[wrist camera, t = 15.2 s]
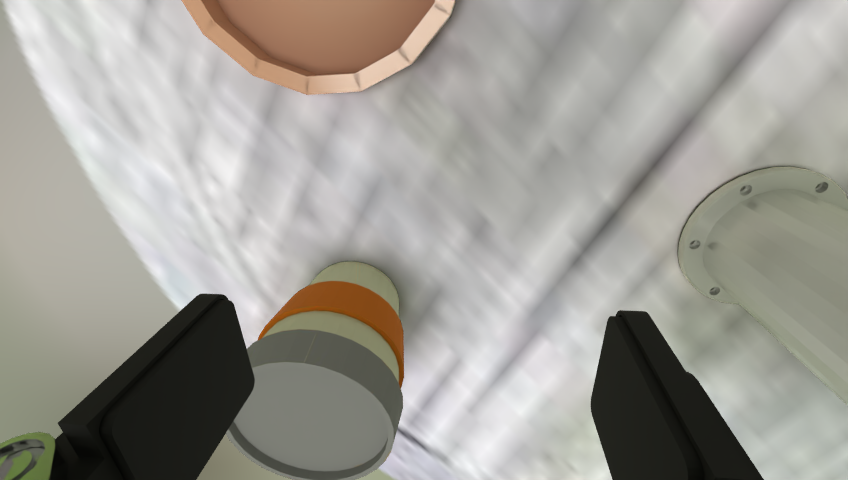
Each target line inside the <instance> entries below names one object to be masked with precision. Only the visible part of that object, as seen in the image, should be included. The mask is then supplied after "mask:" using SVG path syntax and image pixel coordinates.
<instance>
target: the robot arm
mask: <svg viewBox="0 0 848 480" xmlns="http://www.w3.org/2000/svg"><path fill="white" fill-rule="evenodd" d="M678 258H679V264H680V268H681V270H682V272H683V274H684V276H685V277H686V279H687V280H688V281H689V282H690V283H691V285H693V286H694V287H695V288H696V289H697V290H698V291H699V292H700V293H701V294H703V295H705V296H706V297H708V298H710V299H713V300H716V301H719V302H723V303H730V304H740V305H741V306H742V307H743V308H744V309H745V310H746V311H747V312H748V313H749V314H751V315H752V316H753V317H754V318H755V319H756V320H757V321H758V322H759V323H760V324H761V325H762V326H763V327H764V328H765V329H766V330H768V331H769V332H770V333H771V334H772V335H773V336H774V337H775V338H776V339H777V340H778V341H779V342H780V343H781V344H782V345H784V346H785V347H786V348H787V349H788V350H789V351H790V352H791V353H792V354H793V355H794V356H795V357H796V358H797V359H798V360H799V361H801V362H802V363H803V364H804V365H805V366H806V367H807V368H808V369H809V370H810V371H811V372H812V373H813V374H814V375H815V376H817V377H818V378H819V379H820V380H821V381H822V382H823V383H824V384H825V385H826V386H827V387H828V388H829V389H830V390H831V391H832V392H834V393H835V394H836V395H837V396H838V397H839V398H840V399H841V400H842V401H843V402H844V403H845V404H846V405H847V406H848V198H847V196H846V195H845V193H844V191H843V190H842V188H841V187H839V186H838V185H837V184H836V183H835V182H834V181H833V180H831V179H829V178H827V177H825V176H823V175H821V174H819V173H816V172H813V171H810V170H807V169H804V168H797V167H772V168H767V169H762V170H757V171H754V172H751V173H749V174H746V175H743V176H740V177H738V178H736V179H735V180H733V181H731V182H729V183H727V184H725V185H724V186H722V187H721V188H719V189H718V190H717V191H715V192H714V193H712V194H711V195H710V196H709V197H708V198H707V199H706V200H705V201H704V202H703V203H701V204H700V205H699V206H698V208H697V209H696V210H695V212H694V213H693V214H692V216H691V217H690V218H689V220H688V222H687V224H686V226H685V228H684V229H683V232H682V235H681V238H680V241H679V249H678ZM254 384H255V378H254V374H253V370H252V367H251V363H250V360H249V356H248V353H247V349H246V346H245V342H244V339H243V335H242V332H241V328H240V325H239V321H238V318H237V314H236V311H235V307H234V304H233V302H232V301H229V300H228V298H227V297H226V296H225V295H222V294H199V295H198V296H196V297H195V298H194V299H193V300H192V301H191V302H190V303H189V304H188V305H187V306H185V307H184V308H183V309H182V310H181V311H180V312H179V313H178V314H177V315H176V316H175V317H173V318H172V319H171V320H170V321H169V322H168V323H167V324H166V325H165V326H164V327H163V328H161V329H160V330H159V331H158V332H157V333H156V334H155V335H154V336H153V337H152V338H150V339H149V340H148V341H147V342H146V343H145V344H144V345H143V346H142V347H141V348H139V349H138V350H137V351H136V352H135V353H134V354H133V355H132V356H131V357H130V358H129V359H127V360H126V361H125V362H124V363H123V364H122V365H121V366H120V367H119V368H118V369H116V370H115V371H114V372H113V373H112V374H111V375H110V376H109V377H108V378H107V379H105V380H104V381H103V382H102V383H101V384H100V385H99V386H98V387H97V388H96V389H95V390H93V391H92V392H91V393H90V394H89V395H88V396H87V397H86V398H85V399H84V400H83V401H81V402H80V403H79V404H78V405H77V406H76V407H75V408H74V409H73V410H72V411H70V412H69V413H68V414H67V415H66V416H65V417H64V418H63V419H62V420H61V421H59V422H58V424H59V426H60V427H61V429H62V431H63V433H62V434H61V435H60V436H59V437H57V438H56V439H55V438H53V437H52V436H51V435H50V434H48V433H43V432H35V433H27V434H24V435H21V436H17V437H14V438H11V439H9V440H7V441H5V442H2V443H0V480H196V479H197V477H198V476H199V474H200V473H201V471H202V470H203V468H204V466H205V465H206V463H207V462H208V460H209V459H210V457H211V455H212V454H213V452H214V451H215V449H216V448H217V446H218V444H219V443H220V441H221V440H222V438H223V437H224V435H225V433H226V432H227V430H228V429H229V427H230V426H231V424H232V422H233V421H234V419H235V418H236V416H237V415H238V413H239V411H240V410H241V408H242V407H243V405H244V404H245V402H246V400H247V399H248V397H249V396H250V394H251V393H252V391H253V388H254ZM591 412H592V416H593V419H594V423H595V426H596V429H597V432H598V435H599V438H600V441H601V444H602V448H603V451H604V454H605V457H606V460H607V463H608V466H609V470H610V473H611V476H612V479H613V480H764V479H763V478H762V476H761V475H760V473H759V472H758V470H757V469H756V467H755V466H754V464H753V463H752V461H751V460H750V458H749V457H748V455H747V454H746V452H745V451H744V449H743V448H742V446H741V445H740V443H739V442H738V440H737V439H736V437H735V436H734V434H733V433H732V431H731V430H730V428H729V427H728V425H727V424H726V422H725V421H724V419H723V418H722V416H721V415H720V413H719V412H718V410H717V409H716V407H715V406H714V404H713V403H712V401H711V400H710V398H709V397H708V395H707V394H706V392H705V391H704V389H703V388H702V386H701V385H700V383H699V382H698V380H697V379H696V378H695V377H694V376H693V375H692V374H690V373H689V372H686V371H685V370H684V368H683V367H682V365H681V363H680V362H679V360H678V359H677V357H676V356H675V354H674V353H673V351H672V350H671V348H670V346H669V345H668V343H667V342H666V340H665V339H664V337H663V336H662V334H661V333H660V331H659V329H658V328H657V326H656V325H655V323H654V322H653V320H652V319H651V317H650V316H649V314H648V313H647V312H644V311H621V310H620V311H618V312H617V314H616V317H615V316H611V317H609V318H608V321H607V326H606V330H605V335H604V340H603V345H602V349H601V354H600V359H599V364H598V368H597V373H596V378H595V383H594V387H593V392H592V397H591Z"/></svg>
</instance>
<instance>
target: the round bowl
mask: <svg viewBox="0 0 848 480" xmlns="http://www.w3.org/2000/svg"><path fill="white" fill-rule="evenodd" d="M182 2H183V3H184V5H185V7H186V8H187V10H188V11H189V13H190V14H191V16H192V17H193V19H194V21H195V22H196V24H197V25H198V27H199V28H200V30H201V31H202V33H203V34H204V35H205V36H206V37H207V38H209V39H210V40H211V41H212V42H213V43H215V44H216V45H217V46H218V47H219V48H221V49H222V50H223V51H224V52H225V53H227V54H228V55H229V56H230V57H231V58H233V59H234V60H235V61H236V62H237V63H239V64H240V65H241V66H242V67H243V68H245V69H246V70H247V71H248V72H249V73H251V74H252V75H253V76H256V77H259V78H262V79H264V80H267V81H270V82H273V83H276V84H278V85H281V86H284V87H287V88H290V89H292V90H295V91H298V92H301V93H303V94H306V95H311V94H327V93H344V92H360V91H363V90H365V89H367V88H368V87H370V86H372V85H374V84H376V83H378V82H380V81H381V80H383V79H385V78H387V77H389V76H391V75H393V74H394V73H396V72H398V71H400V70H402V69H404V68H406V67H407V66H409V65H411V64H413V63H414V62H415V61H416V60H417V59H418V57H419V56H420V55H421V54H422V52H423V51H424V50H425V49H426V47H427V46H428V45H429V44H430V42H431V41H432V40H433V39H434V37H435V36H436V35H437V33H438V32H439V31H440V30H441V28H442V27H443V26H444V25H445V23H446V22H447V21H448V20H449V18H450V17H451V15H452V11H453V8H454V5H455V2H456V0H182Z"/></svg>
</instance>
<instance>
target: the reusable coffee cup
mask: <svg viewBox="0 0 848 480" xmlns="http://www.w3.org/2000/svg"><path fill="white" fill-rule="evenodd" d="M247 353H248V356H249V360H250V363H251V367H252V370H253V374H254V378H255V384H254V388H253V391H252V393H251V394H250V396H249V397H248V399H247V400H246V402H245V404H244V405H243V407H242V408H241V410H240V411H239V413H238V415H237V416H236V418H235V419H234V421H233V422H232V424H231V426H230V427H229V429H228V430H227V432H226V435H227V437H228V438H229V440H230V441H231V442H232V443H233V444H234V446H235V447H236V448H237V449H238V450H239V451H240V452H241V453H242V454H244V455H245V456H246V457H247V458H249V459H250V460H251V461H253V462H254V463H256V464H257V465H259V466H261V467H262V468H264V469H266V470H268V471H271V472H273V473H275V474H277V475H280V476H283V477H287V478H290V479H293V480H355V479H358V478H361V477H363V476H366V475H368V474H369V473H371V472H373V471H374V470H376V469H377V468H378V467H379V466H380V465H381V464H383V463H384V462H385V460H386V459H387V457H388V456H389V454H390V452H391V450H392V446H393V442H394V439H395V435H396V431H397V428H398V424H399V420H400V417H401V413H402V409H403V396H402V392H401V386H402V382H403V378H404V345H403V328H402V324H401V321H400V319H399V297H398V293H397V290H396V288H395V286H394V284H393V283H392V282H391V280H390V279H389V278H388V277H387V276H386V275H385V274H384V273H383V272H381V271H380V270H378V269H376V268H375V267H373V266H370V265H368V264H365V263H360V262H351V261H346V262H339V263H336V264H333V265H330V266H329V267H327V268H325V269H324V270H323V271H322V272H321V273H319V274H318V276H317V277H316V278H315V279H314V280H313V281H312V282H311V283H310V285H309V286H307V287H305V288H303V289H302V290H300V291H298V292H297V293H296V294H295V295H294V296H293V297H292V298H291V299H290V300H289V301H288V302H287V303H286V304H285V305H284V306H283V307H282V309H281V310H280V311H279V312H278V313H277V314H276V315H275V316H274V317H273V318H272V319H271V321H270V322H269V323H268V324H267V325H266V326H265V327H264V329H263V331H262V332H261V334H260V335H259V338H258V341H256V342H254V343H253V344H252V345H251V346H250V347H249V348H248V349H247Z"/></svg>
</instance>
